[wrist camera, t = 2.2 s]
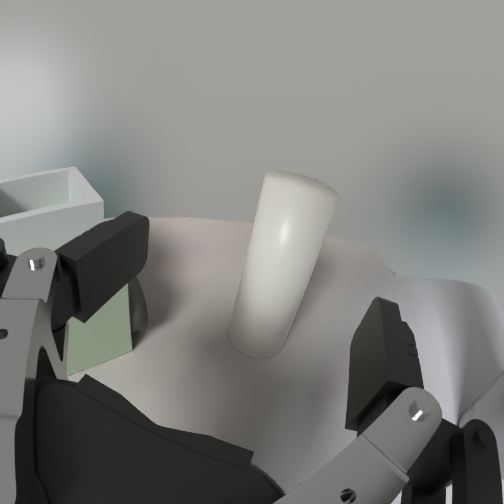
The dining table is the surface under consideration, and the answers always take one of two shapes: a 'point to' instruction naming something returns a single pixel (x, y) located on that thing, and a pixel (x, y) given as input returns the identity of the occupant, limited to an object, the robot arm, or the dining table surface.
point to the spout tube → (280, 260)
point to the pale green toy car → (56, 235)
